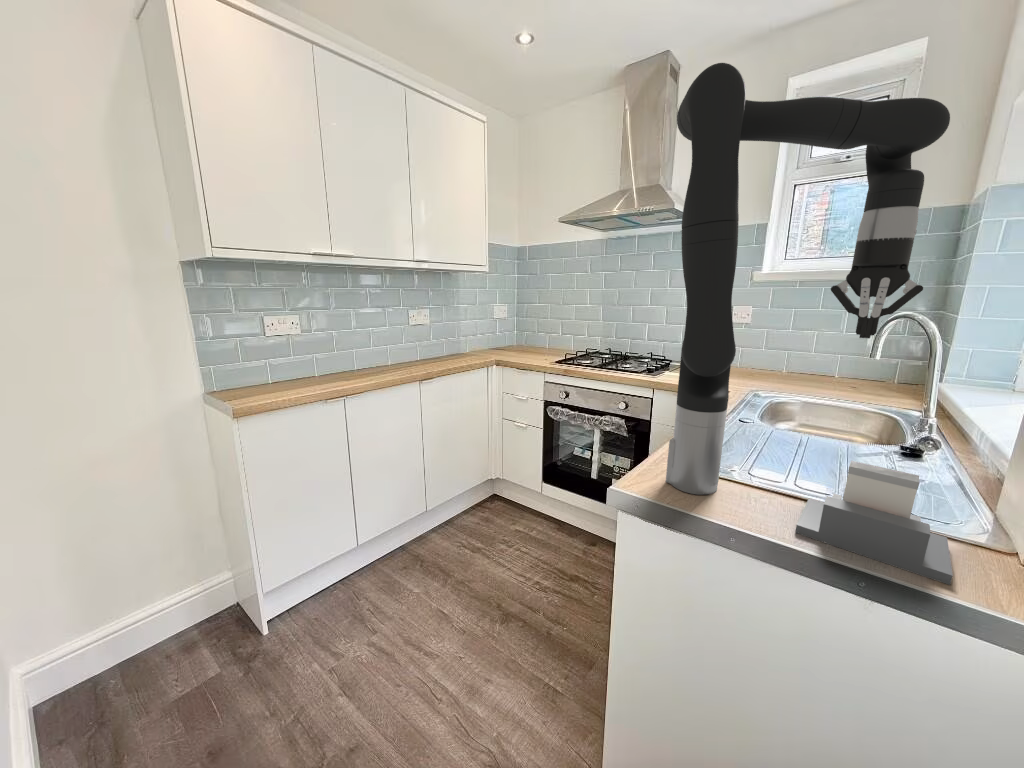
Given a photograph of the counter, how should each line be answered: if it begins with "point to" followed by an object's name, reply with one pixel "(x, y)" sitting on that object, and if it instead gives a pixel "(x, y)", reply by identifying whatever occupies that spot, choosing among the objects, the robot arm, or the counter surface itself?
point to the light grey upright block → (881, 488)
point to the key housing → (878, 536)
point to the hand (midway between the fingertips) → (865, 337)
